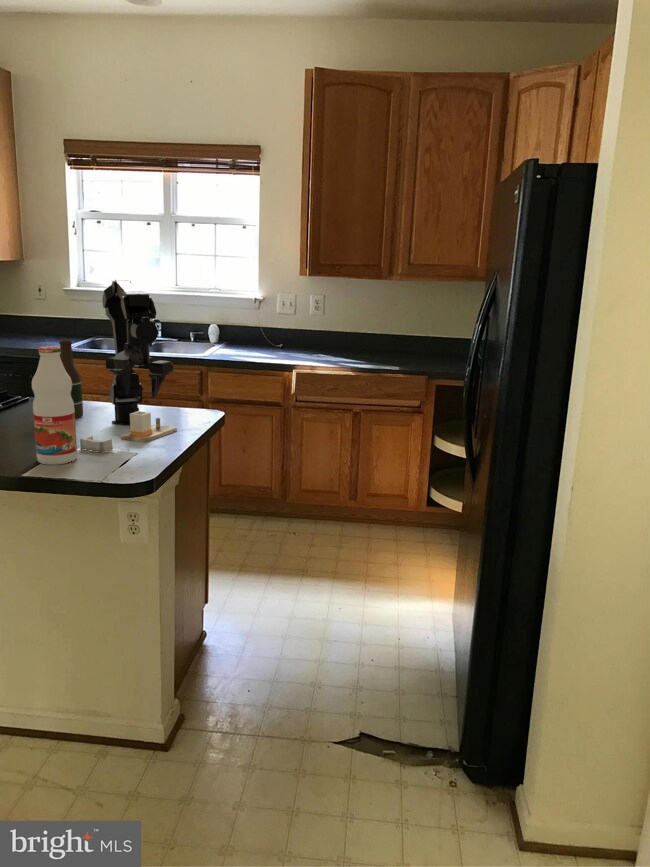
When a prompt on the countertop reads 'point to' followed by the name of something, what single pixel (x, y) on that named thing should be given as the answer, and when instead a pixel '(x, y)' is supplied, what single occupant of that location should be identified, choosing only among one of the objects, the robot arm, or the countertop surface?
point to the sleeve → (140, 423)
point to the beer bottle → (72, 375)
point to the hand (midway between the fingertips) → (140, 396)
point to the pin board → (156, 433)
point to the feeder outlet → (95, 444)
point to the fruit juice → (53, 410)
